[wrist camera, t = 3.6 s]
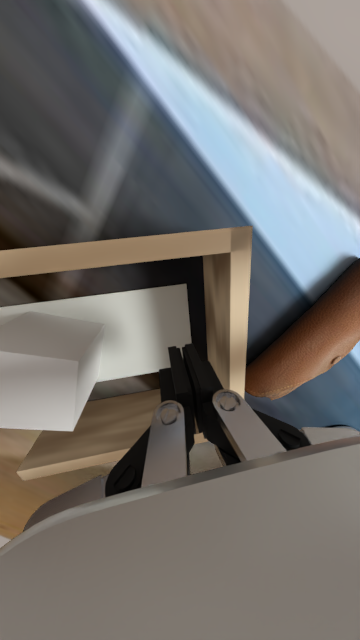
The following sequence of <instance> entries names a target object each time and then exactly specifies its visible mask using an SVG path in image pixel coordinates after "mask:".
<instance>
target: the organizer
mask: <svg viewBox="0 0 360 640" xmlns="http://www.w3.org/2000/svg"><path fill="white" fill-rule="evenodd" d="M251 246H252V226H245V227H235V228H225V229H215V230H204V231H194V232H184V233H174V234H164V235H154V236H144V237H134V238H124V239H114V240H103V241H93V242H83V243H73V244H63V245H53V246H43V247H33V248H23V249H12V250H2V251H0V278H6V277H15V276H24V275H33V274H41V273H50V272H59V271H68V270H77V269H86V268H95V267H104V266H113V265H121V264H130V263H139V262H148V261H157V260H166V259H175V258H184V257H193V256H201V255H203V270H204V291H205V312H206V332H207V353H208V361H209V362H210V363H211V365H212V367H213V369H214V371H215V373H216V375H217V377H218V378H219V380H220V382H221V384H222V386H223V388H224V389H229V390H233V391H235V392H237V393H238V394H239V395H240V396H241V397H242V398H243V399H244V388H245V368H246V348H247V327H248V307H249V287H250V266H251ZM160 403H161V395H160V389H155V390H150V391H144V392H139V393H133V394H128V395H122V396H117V397H111V398H106V399H100V400H94V401H89V402H86V404H85V406H84V409H83V411H82V413H81V415H80V417H79V419H78V421H77V424H76V426H75V428H74V430H73V431H53V430H43V431H42V432H41V434H40V435H39V437H38V439H37V440H36V442H35V443H34V445H33V446H32V448H31V450H30V451H29V453H28V454H27V456H26V457H25V459H24V461H23V462H22V464H21V465H20V467H19V468H18V470H17V474H18V475H19V476H20V477H21V479H22V480H23V481H25V480H30V479H35V478H39V477H44V476H49V475H53V474H58V473H63V472H67V471H72V470H77V469H81V468H86V467H91V466H95V465H100V464H105V463H109V462H114V461H119V460H121V459H122V457H123V456H124V455H125V454H126V453H127V452H128V451H129V449H130V448H131V447H132V446H133V445H134V444H135V443H136V441H137V440H138V439H139V438H140V437H141V436H142V435H143V433H144V432H145V431H146V430H147V429H148V428H149V427H150V425H151V421H152V415H153V412H154V409H155V408H156V407H157V406H158V405H159V404H160ZM195 426H196V434H194V440H195V443H194V444H198V443H202V442H207V441H208V440H207V439H204V435H203V432H202V433H199V431H198V427H197V423H196V420H195Z"/></svg>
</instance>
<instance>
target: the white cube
mask: <svg viewBox="0 0 360 640" xmlns="http://www.w3.org/2000/svg"><path fill="white" fill-rule="evenodd" d="M104 329H105V324H101V323H95V322H89V321H84V320H78V319H73V318H67V317H61V316H56V315H50V314H44V313H39V312H33V311H31V312H29V313H26V314H24V315H22V316H20V317H18V318H16V319H13V320H11V321H9V322H7V323H5V324H3V325H0V428H11V429H32V430H53V431H73V430H74V428H75V426H76V424H77V421H78V419H79V417H80V415H81V413H82V411H83V409H84V406H85V404H86V402H87V400H88V398H89V396H90V393H91V391H92V389H93V387H94V385H95V383H96V380H97V378H98V375H99V367H100V360H101V352H102V344H103V336H104Z"/></svg>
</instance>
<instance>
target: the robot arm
mask: <svg viewBox="0 0 360 640" xmlns="http://www.w3.org/2000/svg"><path fill="white" fill-rule="evenodd" d="M168 352H169V359H170V366H171V367H170V368H164V369H159V379H160V395H161V403H160V404H159V405H158V406H157V407H156V408H155V409H154V412H153V415H152V421H151V425H150V427H149V428H148V429H147V430H146V431H145V432H144V433H143V435H142V436H141V437H140V438H139V439H138V440H137V441H136V443H135V444H134V445H133V446H132V447H131V448H130V449H129V451H128V452H127V453H126V454H125V455H124V456H123V457H122V459H121V460H120V461H119V462H118V463H117V464H116V465H115V467H114V468H113V469H112V471H111V472H110V474H108V475H106V476H104V477H102V475H100V476H98V477H96V478H94V479H92V480H90V481H88V482H86V483H84V484H82V485H80V486H78V487H76V488H74V489H72V490H70V491H68V492H66V493H64V494H62V495H60V496H58V497H56V498H54V499H52V500H49V501H48V502H46V503H45V504H43V505H42V506H40V508H39V509H38V510H37V511H36V512H35V513H34V514H33V515H32V516H31V518H30V519H29V521H28V522H27V524H26V525H25V528H24V530H23V532H22V533H21V534H19V535H18V536H16V537H15V538H14V539H12V540H11V541H9V542H8V543H7V544H5V545H4V546H3V547H1V548H0V640H360V432H358V431H357V430H356V429H354V428H352V427H347V426H337V427H332V428H313V427H302V429H301V430H298V429H297V428H295V427H293V426H291V425H289V424H287V423H284V422H282V421H280V420H277V419H275V418H273V417H270V416H268V415H266V414H263V413H261V412H259V411H257V410H254V409H252V408H251V407H250V406H249V405H248V404H247V403H246V401H245V400H244V399H243V398H242V397H241V396H240V395H239V394H238V393H237V392H235V391H233V390H229V389H224V388H223V386H222V384H221V382H220V380H219V378H218V377H217V375H216V373H215V371H214V369H213V367H212V365H211V363H210V362H209V361H203V362H201V360H200V357H199V355H198V353H197V351H196V349H195V346H194V344H193V343H190V344H185V347H182V354H183V358H182V354H181V351H180V348H176V346H172V347H168ZM195 420H196V423H197V427H198V431H199V433H202V432H203V435H204V439H207V440H208V441H210V442H211V443H213V444H214V447H215V450H216V452H217V454H218V456H219V458H220V460H221V462H222V465H223V467H221V468H217V469H213V470H209V471H205V472H201V473H197V474H193V475H191V474H190V455H189V452H190V450H191V449H192V447H193V445H194V443H195V440H194V434H196V426H195Z"/></svg>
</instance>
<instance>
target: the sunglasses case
mask: <svg viewBox="0 0 360 640" xmlns="http://www.w3.org/2000/svg"><path fill="white" fill-rule="evenodd" d="M359 340H360V258H359V259H358V260H356V261H355V262H354V263H353V264H352V265H351V266H350V267H349V268H348V269H347V270H346V271H345V272H344V273H343V274H342V275H341V276H340V277H339V278H338V280H337V281H336V282H335V283H334V284H333V285H332V286H331V287H330V288H329V289H328V291H327V292H326V293H324V294H323V295H322V296H321V297H320V298H319V299H318V300H317V302H316V303H315V304H314V305H313V306H312V307H311V308H310V309H309V310H307V311H306V312H305V313H304V314H303V315H302V316H301V317H300V318H299V319H298V320H297V321H295V322H294V323H293V324H292V325H291V326H290V327H289V328H288V329H287V330H286V331H285V332H284V333H283V334H282V335H281V336H280V337H279V338H278V339H277V340H275V341H274V342H273V343H272V344H271V345H270V346H269V347H268V348H267V349H266V350H265V351H264V352H262V353H261V354H260V355H259V356H258V357H257V358H256V359H255V360H254V361H253V362H252V363H250V364H249V365H248V366H247V367H246V368H245V388H244V390H245V391H246V392H247V393H249V394H251V395H252V396H255V397H268V398H271V400H273V399H276V398H280V397H282V396H285V395H286V394H288V393H289V392H291V391H293V390H294V389H296V388H297V387H299V386H300V385H302V384H303V383H305V382H307V381H309V380H311V379H313V378H315V377H316V376H318V375H320V374H322V373H324V372H326V371H327V370H329V369H330V368H331V367H332V366H333V365H334V364H336V363H338V362H339V361H340V360H341V359H342V358H343V357H345V356H346V355H347V354H348V353H349V352H350V351H351V350H352V349H353V347H354V346H355V345H356V343H357V342H358V341H359Z"/></svg>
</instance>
